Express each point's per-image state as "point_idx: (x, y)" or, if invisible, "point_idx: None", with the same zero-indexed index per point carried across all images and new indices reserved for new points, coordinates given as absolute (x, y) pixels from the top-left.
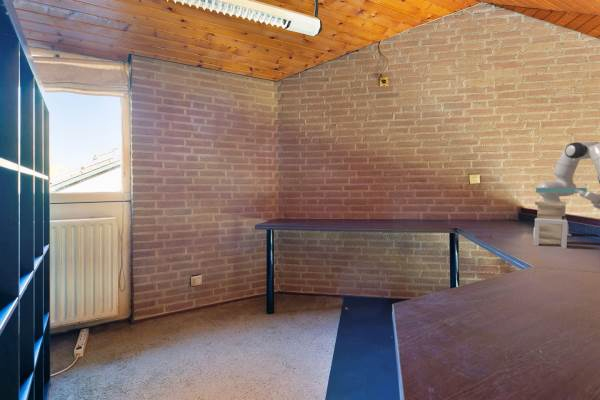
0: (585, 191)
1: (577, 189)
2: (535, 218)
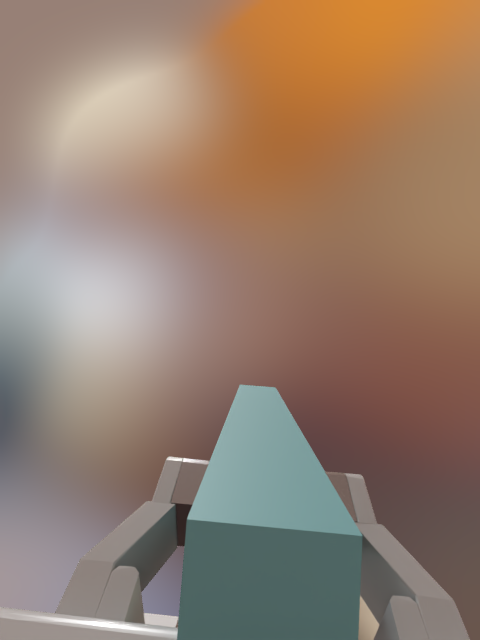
0: (180, 624)
1: (164, 476)
2: (160, 616)
